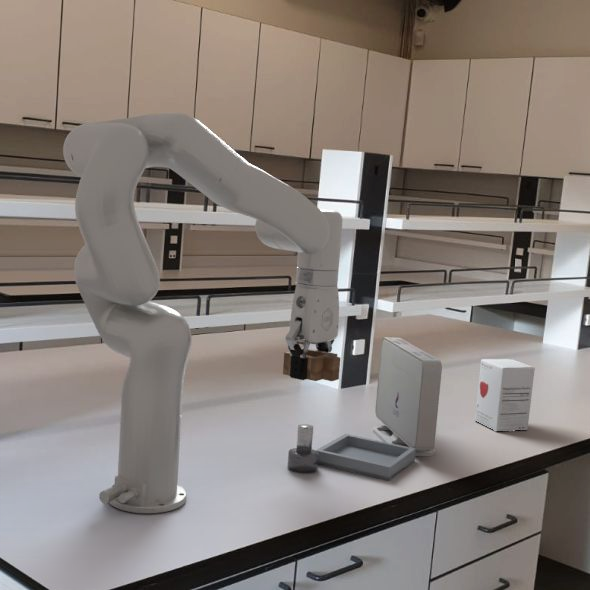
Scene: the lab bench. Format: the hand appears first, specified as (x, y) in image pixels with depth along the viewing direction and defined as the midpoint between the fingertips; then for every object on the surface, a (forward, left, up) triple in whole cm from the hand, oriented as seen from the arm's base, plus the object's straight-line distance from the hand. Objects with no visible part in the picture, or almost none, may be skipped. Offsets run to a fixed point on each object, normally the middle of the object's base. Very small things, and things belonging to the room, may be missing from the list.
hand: (309, 374), depth 158 cm
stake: (0, 0, -18) cm, 18 cm away
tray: (+11, -8, -18) cm, 22 cm away
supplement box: (+56, -23, -18) cm, 63 cm away
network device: (+29, -9, -18) cm, 35 cm away
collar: (0, 0, 0) cm, 0 cm away
